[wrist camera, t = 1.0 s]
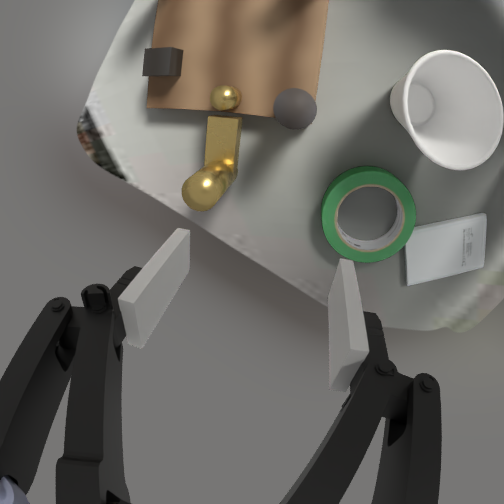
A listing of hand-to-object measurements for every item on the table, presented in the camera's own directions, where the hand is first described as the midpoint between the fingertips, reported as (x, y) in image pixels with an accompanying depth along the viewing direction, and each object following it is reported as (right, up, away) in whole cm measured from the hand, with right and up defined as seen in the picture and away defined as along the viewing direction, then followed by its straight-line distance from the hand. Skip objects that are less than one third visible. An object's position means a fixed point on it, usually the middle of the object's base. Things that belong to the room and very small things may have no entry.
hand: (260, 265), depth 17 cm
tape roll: (+13, +6, +17) cm, 22 cm away
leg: (-3, +13, +13) cm, 18 cm away
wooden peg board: (-2, +24, +9) cm, 26 cm away
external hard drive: (+25, +2, +17) cm, 31 cm away
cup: (+17, +17, +10) cm, 26 cm away
